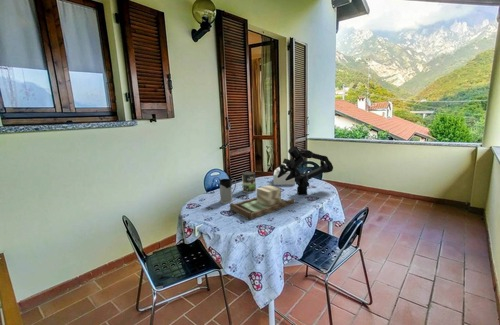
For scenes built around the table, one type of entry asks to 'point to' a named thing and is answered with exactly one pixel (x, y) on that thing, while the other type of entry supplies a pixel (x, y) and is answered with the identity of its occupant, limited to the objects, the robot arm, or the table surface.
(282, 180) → the butter dish
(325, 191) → the table surface
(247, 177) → the coffee can
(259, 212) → the trap lane
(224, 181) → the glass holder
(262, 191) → the birch block
